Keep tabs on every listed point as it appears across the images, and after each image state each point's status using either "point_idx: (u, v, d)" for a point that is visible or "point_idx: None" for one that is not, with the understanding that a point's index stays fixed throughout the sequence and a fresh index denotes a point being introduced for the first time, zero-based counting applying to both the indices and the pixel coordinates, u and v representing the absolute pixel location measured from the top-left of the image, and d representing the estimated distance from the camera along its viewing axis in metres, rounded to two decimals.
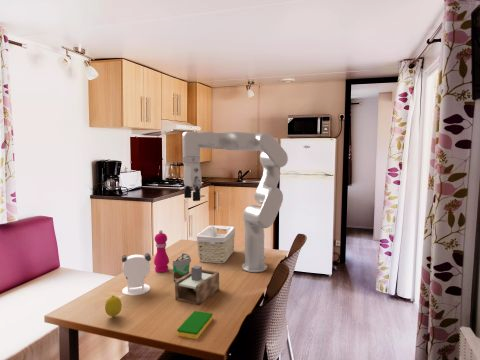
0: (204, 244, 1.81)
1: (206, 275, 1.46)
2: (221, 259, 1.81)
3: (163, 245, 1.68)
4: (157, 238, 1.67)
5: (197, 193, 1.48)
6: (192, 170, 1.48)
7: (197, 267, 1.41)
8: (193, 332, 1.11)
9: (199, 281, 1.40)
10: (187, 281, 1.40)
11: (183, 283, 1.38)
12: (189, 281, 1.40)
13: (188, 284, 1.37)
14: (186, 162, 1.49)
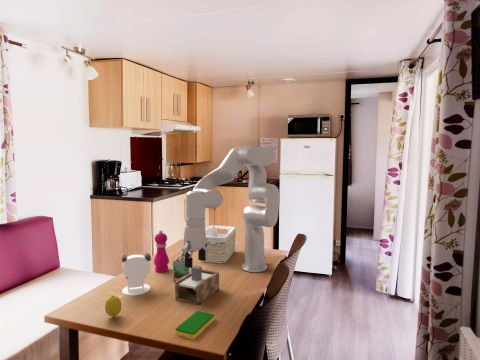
0: None
1: (206, 275, 1.46)
2: (222, 259, 1.80)
3: (163, 245, 1.68)
4: (157, 238, 1.67)
5: None
6: None
7: (197, 267, 1.41)
8: (190, 332, 1.11)
9: (199, 281, 1.40)
10: (187, 281, 1.40)
11: (183, 283, 1.38)
12: (189, 281, 1.40)
13: (188, 284, 1.37)
14: (204, 223, 1.40)
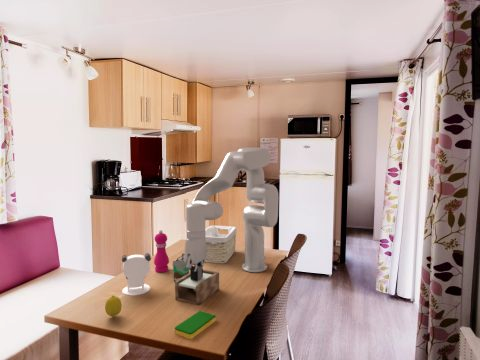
0: None
1: (206, 275, 1.46)
2: (222, 259, 1.80)
3: (163, 245, 1.68)
4: (157, 238, 1.67)
5: None
6: None
7: (197, 267, 1.41)
8: (188, 332, 1.11)
9: (199, 281, 1.40)
10: (187, 281, 1.40)
11: (183, 283, 1.38)
12: (189, 281, 1.40)
13: (188, 284, 1.37)
14: (205, 235, 1.41)
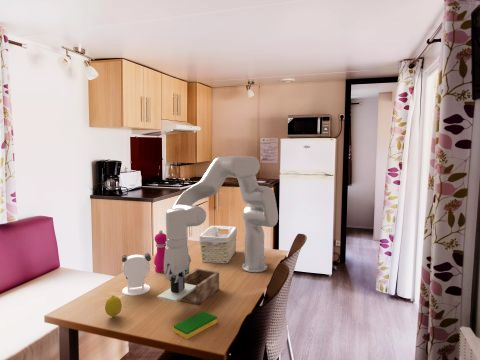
0: (207, 244, 1.81)
1: (189, 286, 1.34)
2: (224, 259, 1.80)
3: (163, 245, 1.68)
4: (157, 238, 1.67)
5: None
6: None
7: (178, 278, 1.30)
8: (184, 331, 1.11)
9: (180, 293, 1.28)
10: (167, 293, 1.28)
11: (162, 295, 1.26)
12: (169, 293, 1.28)
13: (167, 297, 1.25)
14: None
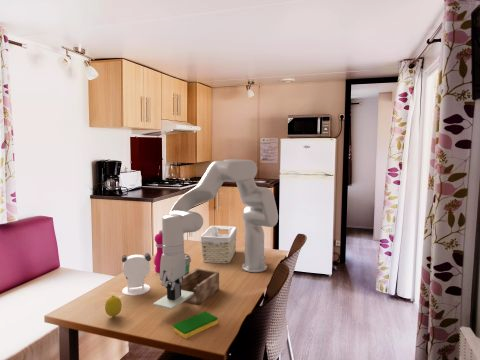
0: (208, 244, 1.81)
1: (185, 293, 1.32)
2: (226, 259, 1.80)
3: None
4: (157, 238, 1.67)
5: None
6: None
7: (174, 285, 1.28)
8: (183, 331, 1.12)
9: (176, 300, 1.26)
10: (163, 300, 1.26)
11: (158, 303, 1.24)
12: (165, 300, 1.26)
13: (163, 304, 1.23)
14: (183, 250, 1.27)
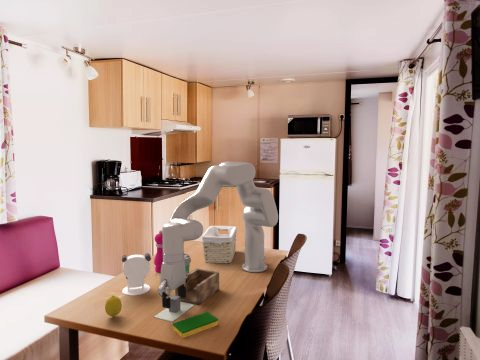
0: (210, 245, 1.80)
1: (186, 305, 1.33)
2: (227, 259, 1.81)
3: None
4: (157, 238, 1.67)
5: None
6: None
7: (175, 297, 1.28)
8: (181, 330, 1.12)
9: (177, 313, 1.27)
10: (164, 313, 1.27)
11: (159, 316, 1.25)
12: (166, 313, 1.27)
13: (164, 317, 1.24)
14: (183, 258, 1.28)
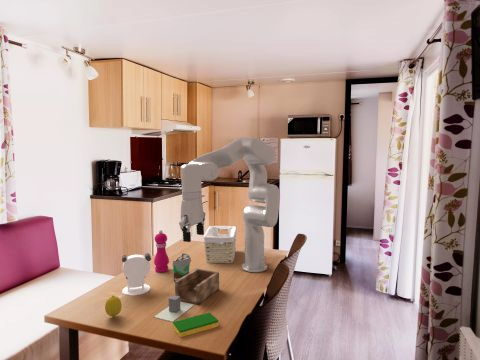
0: (212, 245, 1.80)
1: (186, 305, 1.33)
2: (229, 259, 1.81)
3: (163, 245, 1.68)
4: (157, 238, 1.67)
5: None
6: None
7: (175, 297, 1.28)
8: (179, 329, 1.13)
9: (177, 313, 1.27)
10: (164, 313, 1.27)
11: (159, 316, 1.25)
12: (166, 313, 1.27)
13: (164, 317, 1.24)
14: (201, 196, 1.37)
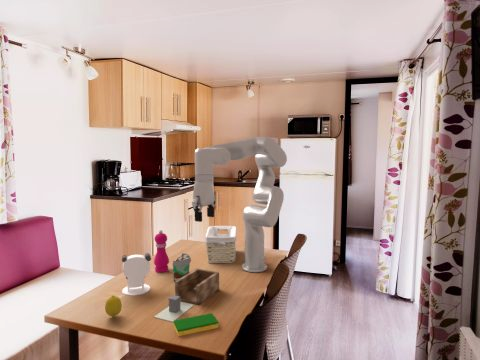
0: (213, 245, 1.80)
1: (186, 305, 1.33)
2: (231, 259, 1.81)
3: (163, 245, 1.68)
4: (157, 238, 1.67)
5: None
6: None
7: (175, 297, 1.28)
8: (177, 328, 1.13)
9: (177, 313, 1.27)
10: (164, 313, 1.27)
11: (159, 316, 1.25)
12: (166, 313, 1.27)
13: (165, 317, 1.24)
14: None
